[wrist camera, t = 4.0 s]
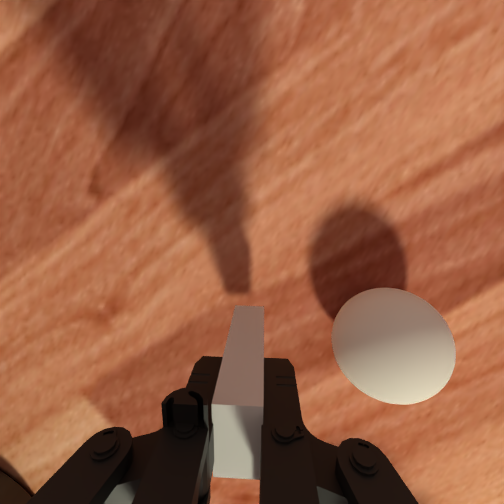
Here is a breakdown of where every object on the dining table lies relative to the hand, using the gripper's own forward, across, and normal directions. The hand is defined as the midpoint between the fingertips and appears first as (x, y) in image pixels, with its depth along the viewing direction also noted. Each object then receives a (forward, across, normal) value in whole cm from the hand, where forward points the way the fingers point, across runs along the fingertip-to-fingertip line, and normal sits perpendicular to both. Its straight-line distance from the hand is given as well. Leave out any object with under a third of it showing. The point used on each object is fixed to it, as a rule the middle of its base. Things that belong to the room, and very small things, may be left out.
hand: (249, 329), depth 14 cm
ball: (0, +7, 0) cm, 7 cm away
